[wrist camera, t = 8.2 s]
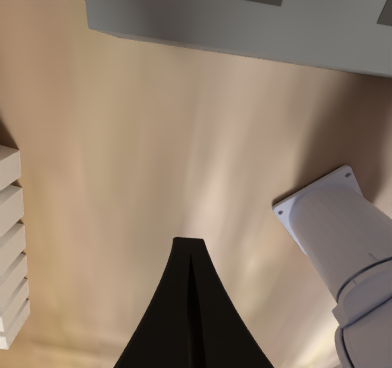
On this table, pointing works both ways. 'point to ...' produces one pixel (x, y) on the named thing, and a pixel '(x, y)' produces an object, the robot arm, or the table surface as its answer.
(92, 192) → the table surface
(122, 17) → the block
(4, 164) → the organizer
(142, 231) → the table surface
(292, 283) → the table surface
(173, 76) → the table surface
